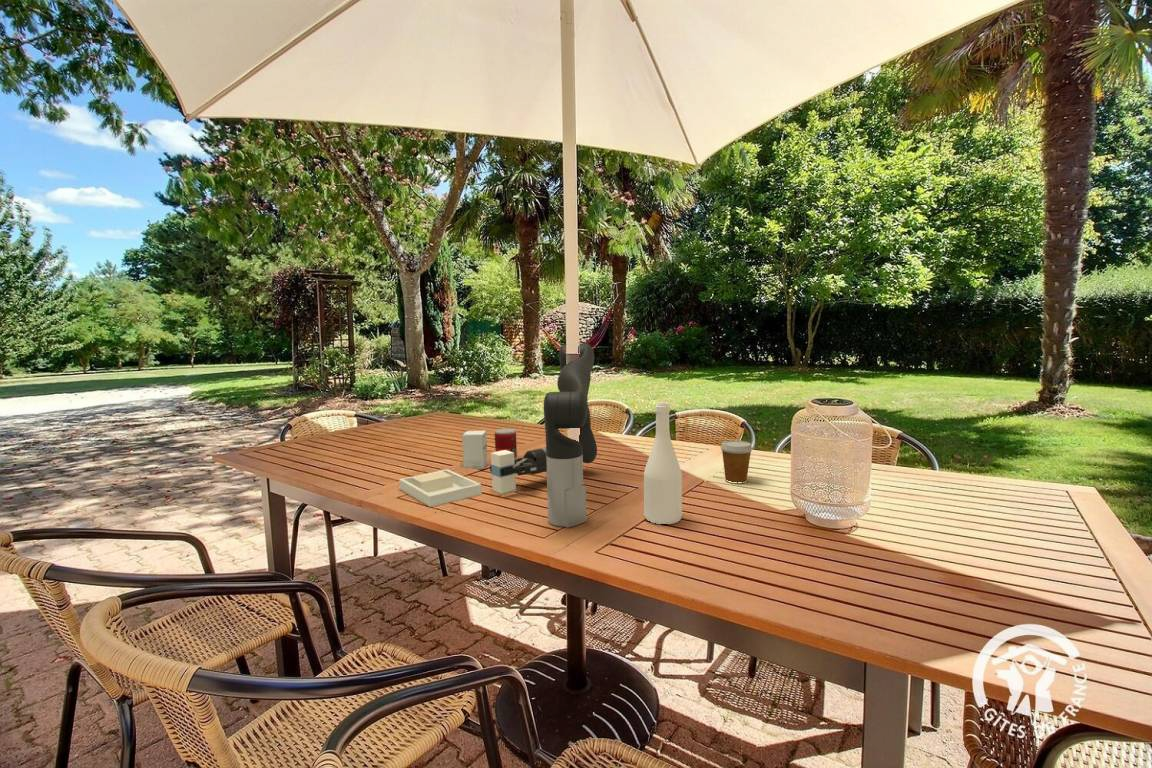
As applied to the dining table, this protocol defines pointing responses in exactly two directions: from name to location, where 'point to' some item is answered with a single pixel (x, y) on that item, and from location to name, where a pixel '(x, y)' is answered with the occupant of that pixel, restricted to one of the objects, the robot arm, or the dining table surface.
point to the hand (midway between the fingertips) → (495, 470)
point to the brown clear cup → (736, 460)
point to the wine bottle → (662, 475)
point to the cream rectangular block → (433, 481)
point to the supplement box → (474, 449)
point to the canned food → (506, 440)
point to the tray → (443, 490)
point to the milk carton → (499, 482)
